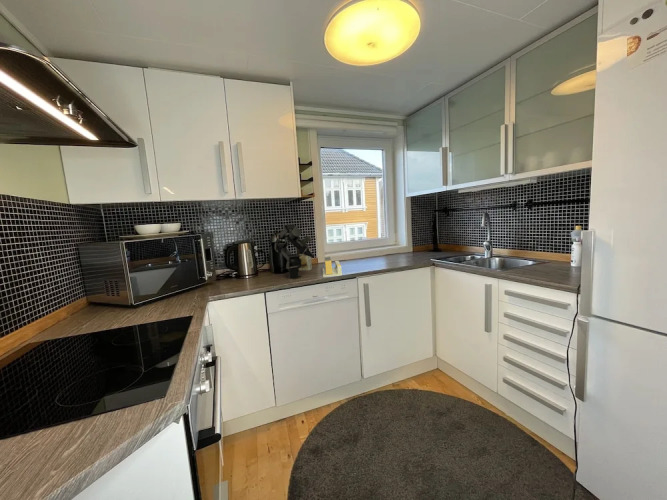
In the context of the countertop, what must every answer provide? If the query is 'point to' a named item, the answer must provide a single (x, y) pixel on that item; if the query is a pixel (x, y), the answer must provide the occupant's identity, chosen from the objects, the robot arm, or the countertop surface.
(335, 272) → the key console
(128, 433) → the countertop surface
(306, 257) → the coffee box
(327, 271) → the ochre key
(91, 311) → the countertop surface
